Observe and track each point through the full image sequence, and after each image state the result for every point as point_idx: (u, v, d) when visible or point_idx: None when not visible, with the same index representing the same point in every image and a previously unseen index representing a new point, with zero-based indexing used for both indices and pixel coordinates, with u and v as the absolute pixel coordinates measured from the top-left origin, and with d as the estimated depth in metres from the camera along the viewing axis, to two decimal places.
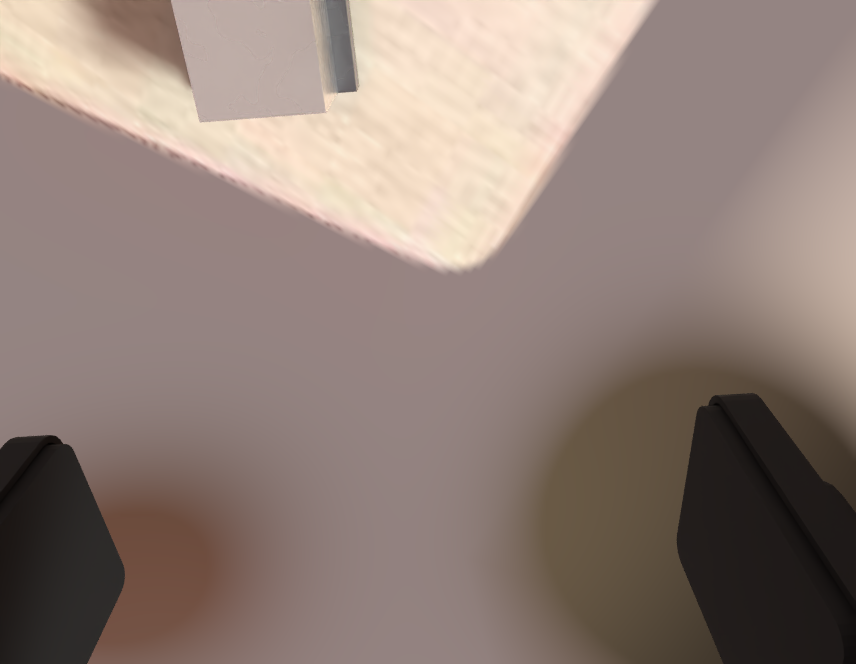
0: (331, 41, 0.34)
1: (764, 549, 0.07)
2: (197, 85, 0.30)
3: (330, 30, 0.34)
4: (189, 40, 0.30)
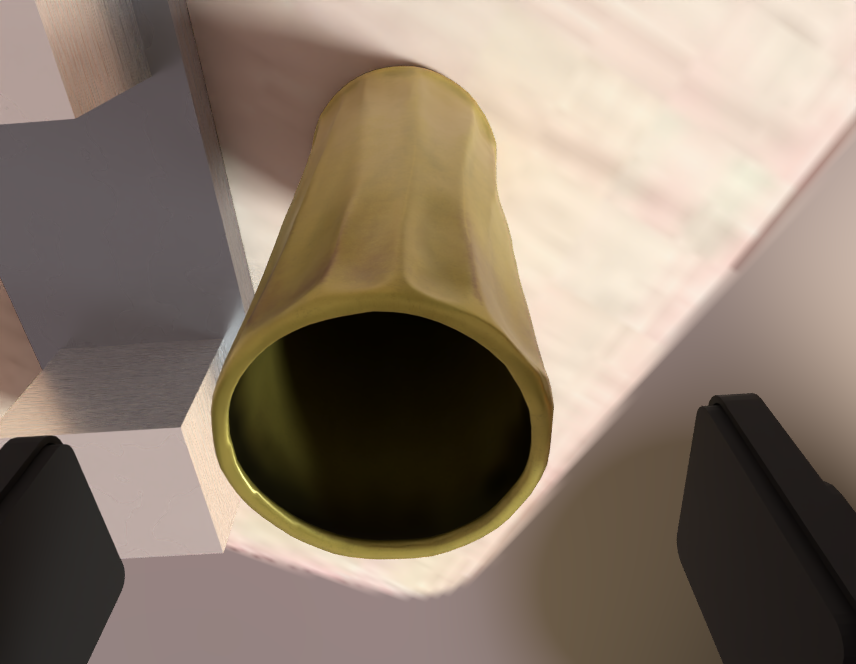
0: None
1: (764, 549, 0.07)
2: None
3: None
4: None
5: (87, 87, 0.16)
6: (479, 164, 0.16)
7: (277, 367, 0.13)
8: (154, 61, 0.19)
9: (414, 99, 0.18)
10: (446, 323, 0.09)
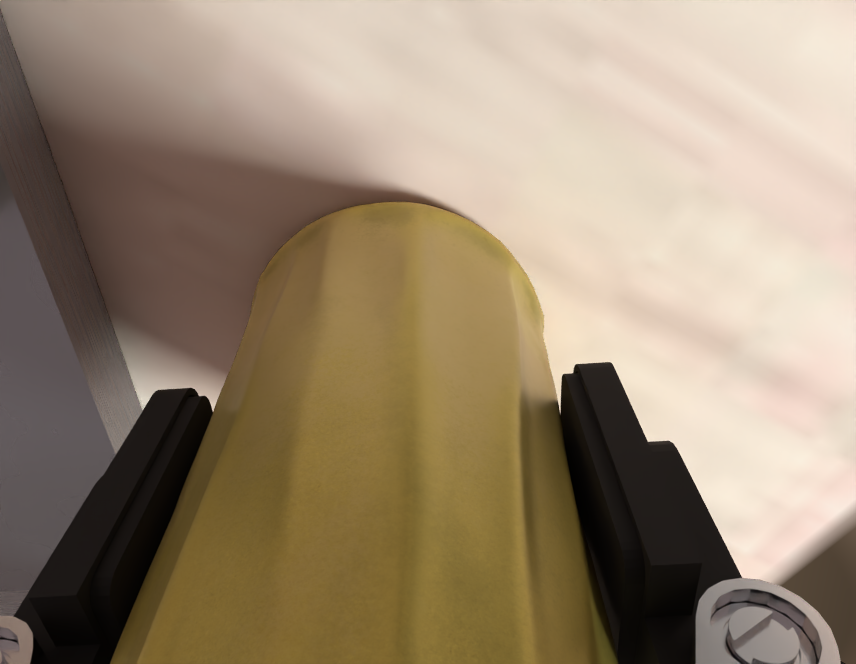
0: None
1: (592, 495, 0.08)
2: None
3: None
4: None
5: None
6: (542, 462, 0.08)
7: None
8: None
9: (413, 299, 0.09)
10: None
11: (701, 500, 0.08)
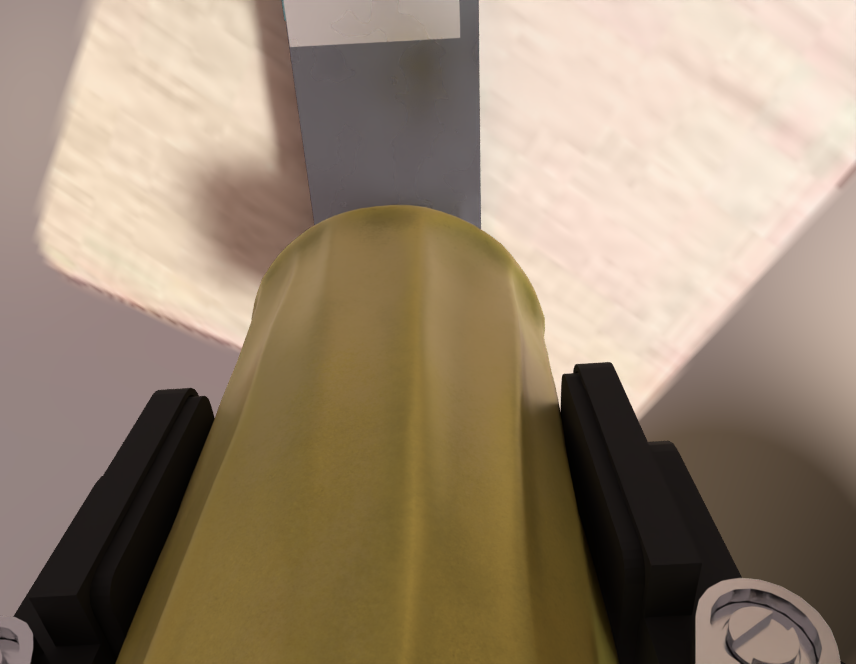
0: None
1: (592, 495, 0.08)
2: None
3: None
4: None
5: None
6: (543, 466, 0.08)
7: None
8: None
9: (415, 303, 0.10)
10: None
11: (701, 500, 0.08)
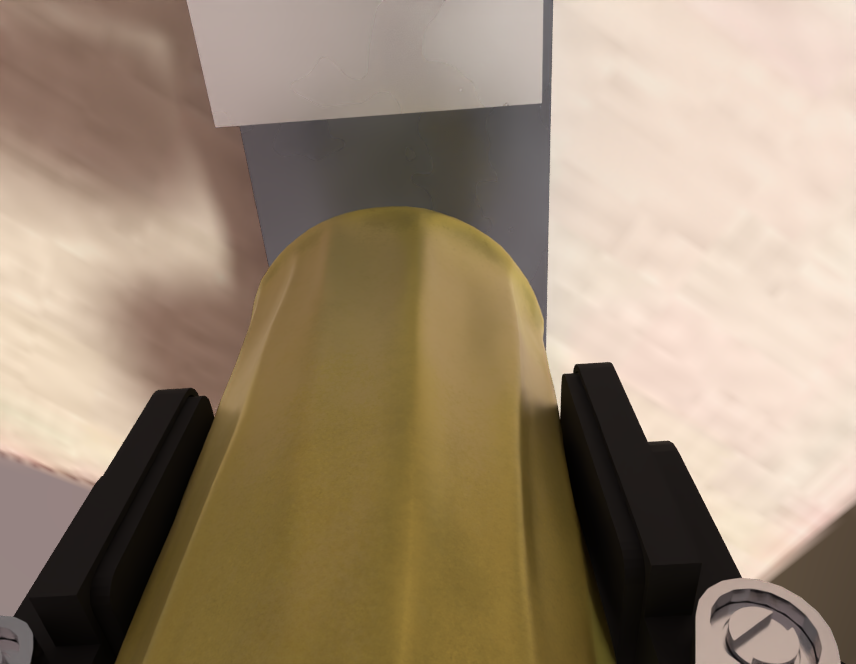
0: None
1: (592, 495, 0.08)
2: None
3: None
4: None
5: None
6: (541, 468, 0.08)
7: None
8: None
9: (414, 304, 0.10)
10: None
11: (701, 500, 0.08)
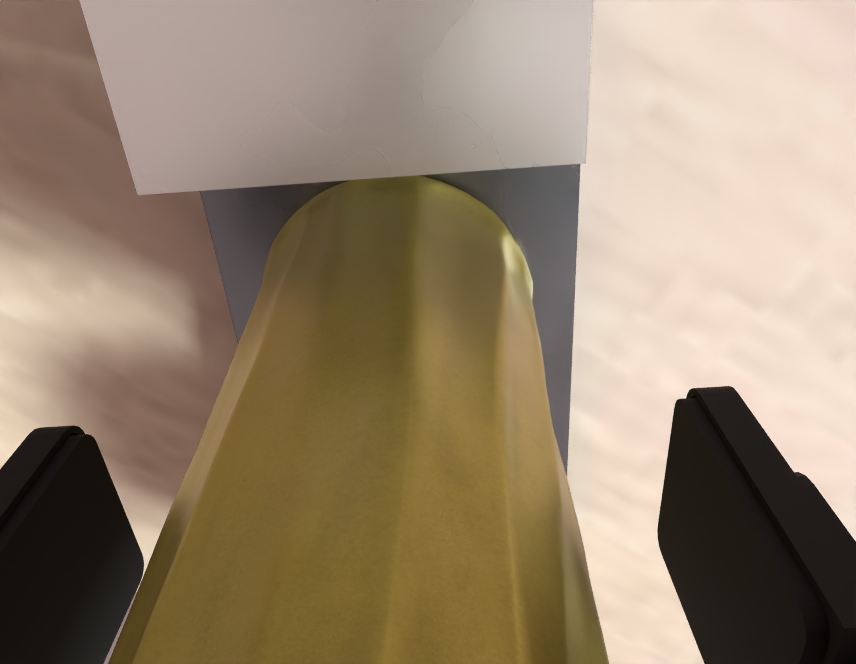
0: None
1: (735, 537, 0.08)
2: None
3: None
4: None
5: None
6: (524, 394, 0.09)
7: None
8: None
9: (413, 255, 0.11)
10: None
11: (854, 542, 0.08)
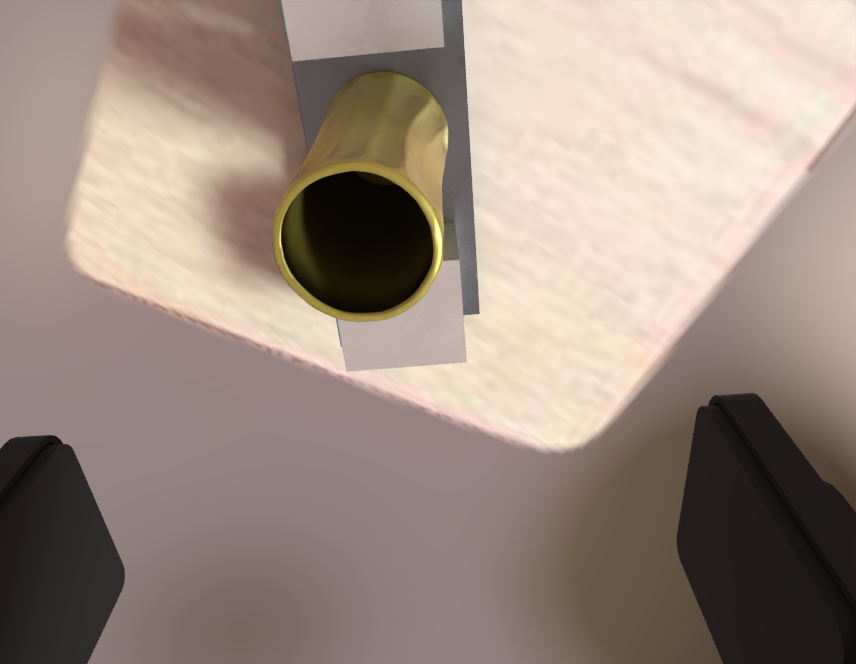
0: None
1: (764, 549, 0.07)
2: (347, 342, 0.32)
3: None
4: None
5: None
6: (425, 127, 0.26)
7: (302, 230, 0.23)
8: (445, 24, 0.30)
9: (388, 90, 0.28)
10: (386, 176, 0.19)
11: None
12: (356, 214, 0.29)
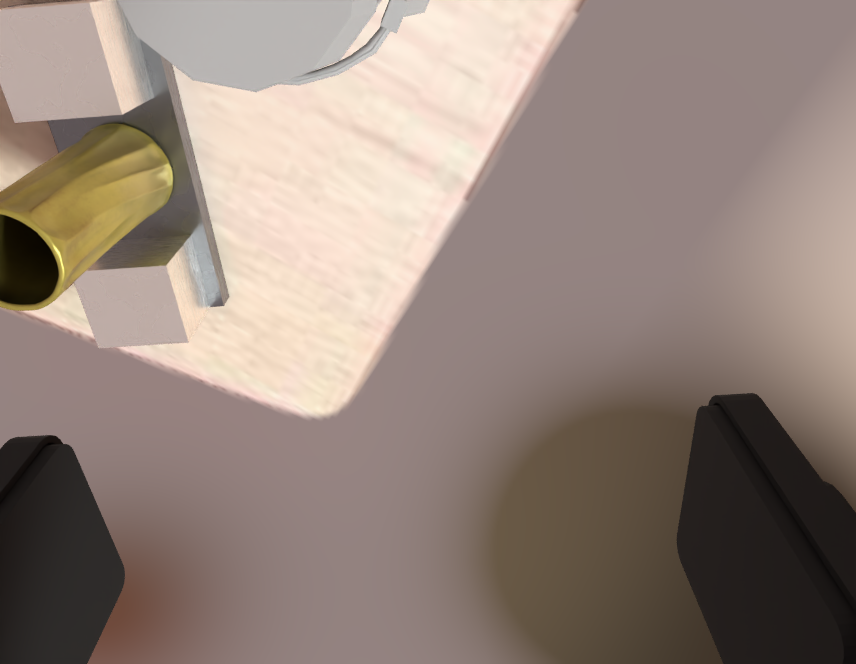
0: (201, 275, 0.46)
1: (764, 549, 0.07)
2: (95, 326, 0.43)
3: (200, 268, 0.46)
4: (87, 299, 0.42)
5: (126, 101, 0.37)
6: (113, 172, 0.37)
7: None
8: (155, 90, 0.40)
9: (98, 142, 0.38)
10: (12, 217, 0.29)
11: None
12: None
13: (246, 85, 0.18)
